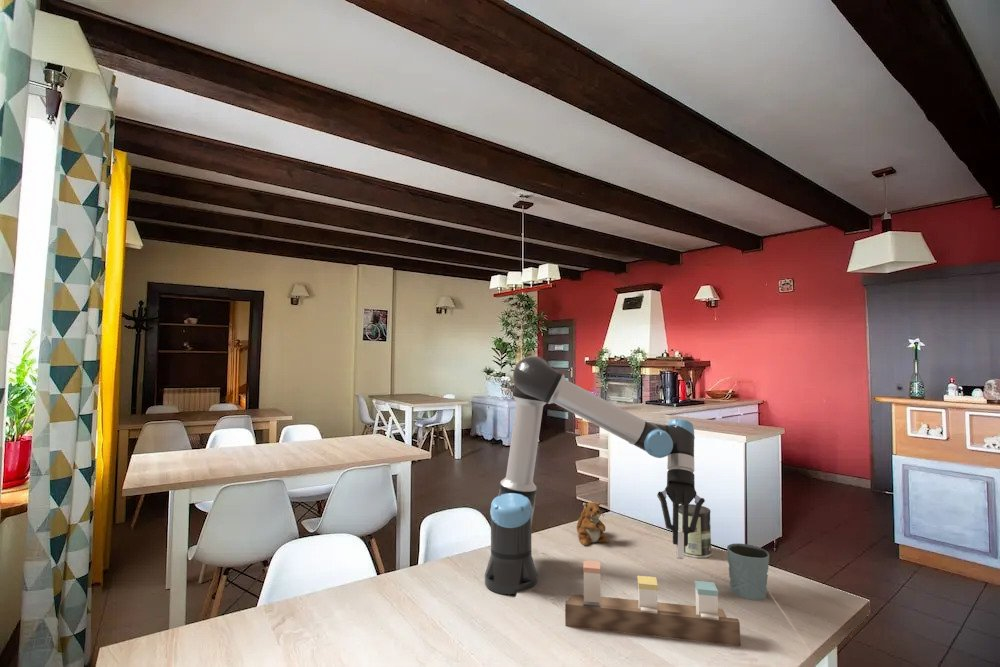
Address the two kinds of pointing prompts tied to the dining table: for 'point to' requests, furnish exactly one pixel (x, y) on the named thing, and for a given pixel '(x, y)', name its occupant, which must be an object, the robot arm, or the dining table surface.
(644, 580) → the middle button
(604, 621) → the button console
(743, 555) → the blue-grey embossed cup
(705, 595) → the button
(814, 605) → the dining table surface
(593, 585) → the button
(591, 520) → the stuffed squirrel
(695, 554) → the coffee can
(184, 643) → the dining table surface
